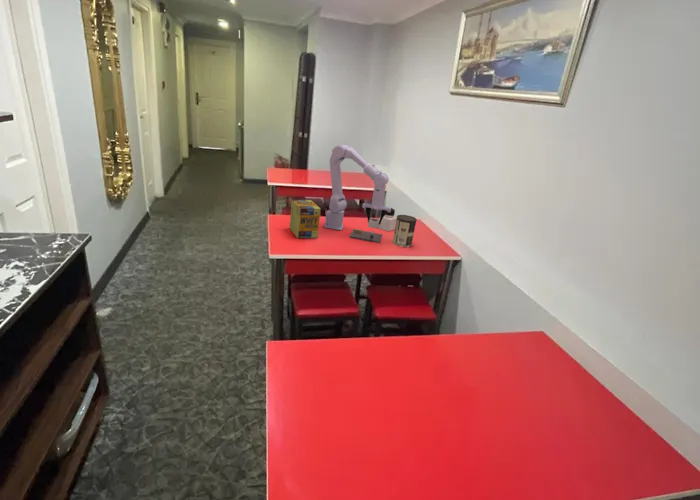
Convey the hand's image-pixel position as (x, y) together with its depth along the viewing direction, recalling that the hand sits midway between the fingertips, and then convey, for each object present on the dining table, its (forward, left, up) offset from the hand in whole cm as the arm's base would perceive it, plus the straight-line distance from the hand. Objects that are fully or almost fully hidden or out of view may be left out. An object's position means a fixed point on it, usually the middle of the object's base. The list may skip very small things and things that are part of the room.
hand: (374, 223), depth 199 cm
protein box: (-34, -12, -8) cm, 37 cm away
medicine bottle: (+6, +20, -8) cm, 23 cm away
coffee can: (+16, 0, -8) cm, 18 cm away
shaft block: (-3, 0, -8) cm, 9 cm away
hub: (0, 0, -2) cm, 2 cm away
